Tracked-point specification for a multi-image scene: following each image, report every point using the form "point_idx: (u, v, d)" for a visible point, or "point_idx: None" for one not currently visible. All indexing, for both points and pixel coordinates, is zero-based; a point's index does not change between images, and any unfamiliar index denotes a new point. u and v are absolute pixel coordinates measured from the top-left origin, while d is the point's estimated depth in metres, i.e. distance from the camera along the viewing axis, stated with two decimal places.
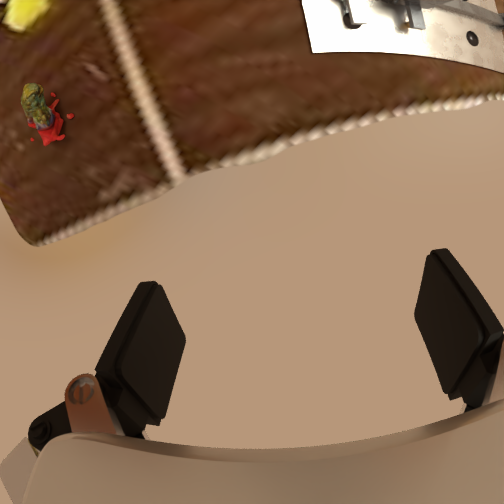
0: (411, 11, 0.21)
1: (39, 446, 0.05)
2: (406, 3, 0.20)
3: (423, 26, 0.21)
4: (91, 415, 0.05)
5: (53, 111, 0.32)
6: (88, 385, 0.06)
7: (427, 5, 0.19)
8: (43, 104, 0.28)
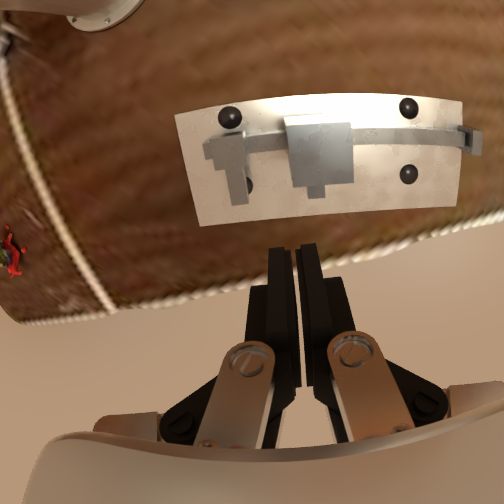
0: None
1: (186, 444, 0.05)
2: None
3: (322, 195, 0.29)
4: (243, 395, 0.05)
5: (10, 245, 0.39)
6: (260, 359, 0.06)
7: None
8: None
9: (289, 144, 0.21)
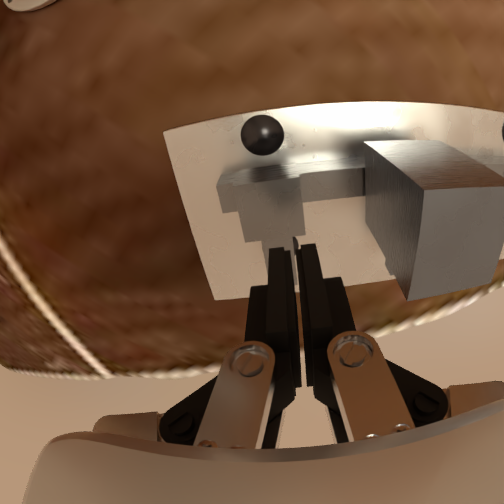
0: None
1: (186, 444, 0.05)
2: None
3: None
4: (243, 395, 0.05)
5: None
6: (260, 359, 0.06)
7: None
8: None
9: (422, 228, 0.09)
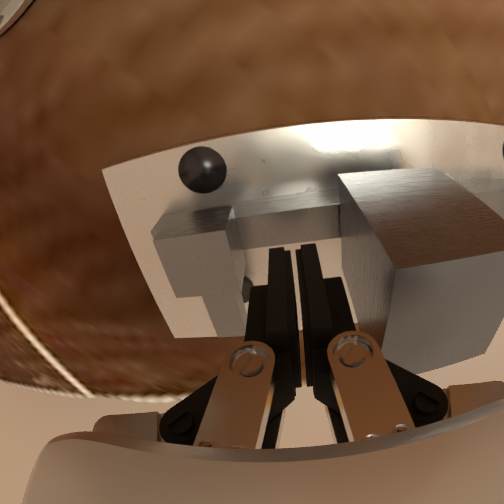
0: None
1: (186, 444, 0.05)
2: None
3: None
4: (243, 395, 0.05)
5: None
6: (260, 359, 0.06)
7: None
8: None
9: (391, 313, 0.07)
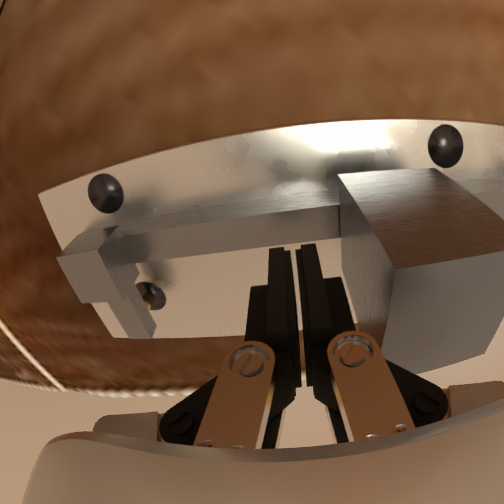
0: None
1: (186, 444, 0.05)
2: None
3: None
4: (243, 395, 0.05)
5: None
6: (260, 359, 0.06)
7: None
8: None
9: (391, 313, 0.07)
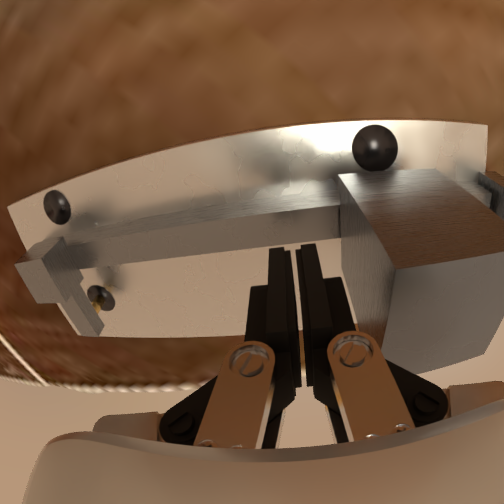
0: None
1: (186, 444, 0.05)
2: None
3: None
4: (243, 395, 0.05)
5: None
6: (260, 359, 0.06)
7: None
8: None
9: (391, 313, 0.07)
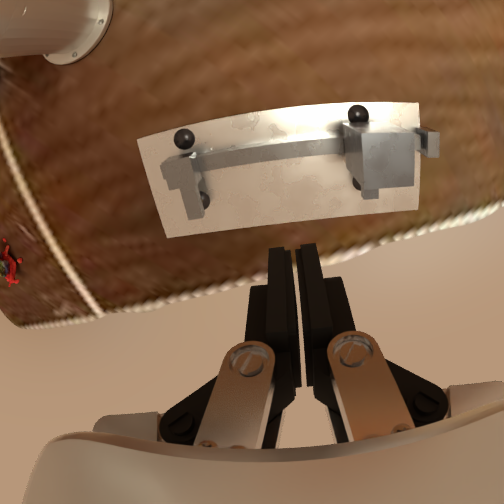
0: None
1: (186, 444, 0.05)
2: None
3: (376, 196, 0.29)
4: (243, 395, 0.05)
5: (7, 257, 0.42)
6: (260, 359, 0.06)
7: None
8: None
9: (363, 150, 0.22)
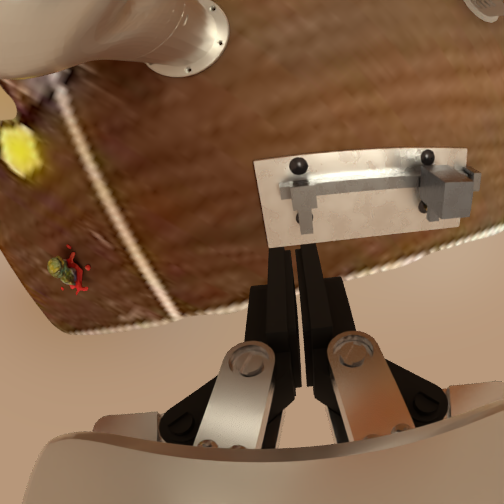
0: None
1: (186, 444, 0.05)
2: None
3: (437, 219, 0.37)
4: (243, 395, 0.05)
5: (73, 264, 0.49)
6: (260, 359, 0.06)
7: None
8: (66, 270, 0.45)
9: (444, 193, 0.29)
